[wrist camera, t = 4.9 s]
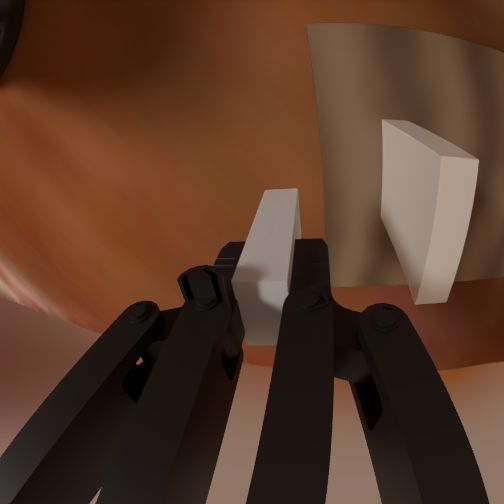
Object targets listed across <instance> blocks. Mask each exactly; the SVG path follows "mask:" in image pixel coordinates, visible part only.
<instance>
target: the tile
mask: <svg viewBox="0 0 504 504" xmlns="http://www.w3.org/2000/svg"><path fill="white" fill-rule="evenodd" d="M382 138H383V174H382V201H381V219H382V221H383V223H384V225H385V228H386V230H387V232H388V235H389V237H390V239H391V242H392V244H393V247H394V249H395V251H396V254H397V256H398V259H399V262H400V264H401V267H402V269H403V272H404V275H405V277H406V280H407V283H408V286H409V289H410V292H411V295H412V297H413V300H414V303H415V305H416V304H430V303H442V302H447V299H448V296H449V293H450V291H451V288H452V285H453V282H454V278H455V275H456V272H457V269H458V265H459V262H460V258H461V255H462V251H463V247H464V243H465V239H466V235H467V231H468V226H469V222H470V217H471V212H472V207H473V201H474V195H475V189H476V182H477V174H478V165H479V159H477V158H475V157H474V156H472V155H471V154H469V153H467V152H466V151H464V150H462V149H461V148H459V147H457V146H455V145H454V144H452V143H450V142H448V141H447V140H445V139H443V138H441V137H439V136H437V135H435V134H434V133H432V132H430V131H428V130H426V129H424V128H422V127H420V126H418V125H416V124H413V123H411V122H409V121H405V120H385V119H382Z"/></svg>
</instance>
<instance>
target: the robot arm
mask: <svg viewBox="0 0 504 504" xmlns="http://www.w3.org/2000/svg"><path fill="white" fill-rule="evenodd" d="M23 5H24V0H0V76H1V74H2V73H3V71H4V69H5V67H6V65H7V63H8V61H9V58H10V56H11V53H12V51H13V48H14V45H15V42H16V39H17V36H18V32H19V28H20V24H21V19H22V14H23ZM177 281H178V284H179V286H180V289H181V292H182V294H183V297H184V299H185V303H184V305H183V306H182V307H179V308H174V309H169V310H164V311H160V310H159V308H158V306H157V304H156V303H154V302H152V301H140V302H137V303H135V304H133V305H131V306H129V307H128V308H127V309H126V310H125V311H124V312H123V313H122V314H121V315H120V316H119V317H118V318H117V319H116V320H115V321H114V322H113V323H112V324H111V325H110V327H109V328H108V329H107V330H106V331H105V332H104V333H103V334H102V335H101V336H100V337H99V338H98V340H97V341H96V342H95V343H94V344H93V345H92V346H91V347H90V348H89V350H88V351H87V352H86V353H85V354H84V355H83V356H82V357H81V358H80V360H79V361H78V362H77V363H76V364H75V365H74V366H73V368H72V369H71V370H70V371H69V372H68V373H67V374H66V376H65V377H64V378H63V379H62V380H61V381H60V383H59V384H58V385H57V386H56V387H55V389H54V390H53V391H52V392H51V393H50V394H49V396H48V397H47V398H46V399H45V401H44V402H43V403H42V404H41V405H40V407H39V408H38V409H37V411H36V412H35V413H34V414H33V415H32V417H31V418H30V419H29V420H28V422H27V423H26V424H25V425H24V427H23V428H22V429H21V431H20V432H19V433H18V434H17V436H16V437H15V438H14V440H13V441H12V442H11V444H10V445H9V446H8V448H7V449H6V450H5V452H4V453H3V454H2V456H1V457H0V504H89V503H90V502H91V501H92V499H93V498H94V496H95V495H96V494H97V492H98V491H99V490H100V488H101V487H102V488H101V491H100V494H99V496H98V499H97V501H96V504H205V503H206V500H207V496H208V492H209V489H210V485H211V481H212V477H213V474H214V470H215V467H216V462H217V459H218V455H219V452H220V448H221V444H222V440H223V437H224V432H225V429H226V425H227V421H228V417H229V413H230V409H231V406H232V402H233V398H234V394H235V390H236V386H237V382H238V378H239V374H240V370H241V366H242V362H243V349H242V342H243V338H244V335H245V339H246V343H247V344H249V345H271V346H277V347H276V353H275V359H274V365H273V371H272V377H271V383H270V388H269V394H268V400H267V405H266V410H265V416H264V421H263V426H262V431H261V436H260V441H259V446H258V451H257V456H256V461H255V466H254V470H253V475H252V479H251V484H250V488H249V493H248V497H247V502H246V504H325V501H326V493H327V484H328V475H329V465H330V453H331V438H332V420H333V419H332V418H333V394H334V377H336V378H340V379H343V380H347V381H349V383H350V386H351V390H352V393H353V396H354V400H355V403H356V407H357V410H358V413H359V417H360V420H361V424H362V427H363V431H364V434H365V438H366V442H367V445H368V449H369V453H370V457H371V461H372V464H373V468H374V472H375V476H376V480H377V485H378V489H379V493H380V497H381V502H382V504H489V500H488V497H487V493H486V490H485V487H484V483H483V480H482V477H481V473H480V471H479V467H478V465H477V462H476V459H475V456H474V453H473V450H472V448H471V445H470V443H469V440H468V437H467V435H466V432H465V430H464V428H463V425H462V423H461V420H460V418H459V416H458V413H457V411H456V409H455V407H454V405H453V402H452V400H451V398H450V396H449V394H448V392H447V389H446V387H445V385H444V383H443V381H442V379H441V377H440V375H439V373H438V371H437V369H436V367H435V365H434V363H433V361H432V359H431V357H430V355H429V354H428V352H427V350H426V348H425V346H424V344H423V343H422V341H421V339H420V337H419V335H418V334H417V332H416V330H415V328H414V326H413V325H412V323H411V321H410V320H409V318H408V316H407V315H406V314H405V313H404V311H403V310H402V309H400V308H398V307H396V306H395V305H391V304H387V303H379V304H374V305H371V306H369V307H367V308H366V309H365V310H364V311H363V312H362V313H361V312H356V311H352V310H349V309H346V308H344V307H342V306H340V305H339V304H338V303H337V302H336V301H335V300H334V299H333V297H332V294H331V283H330V266H329V252H328V245H327V244H326V243H325V242H324V240H323V239H322V238H320V239H301V227H300V213H299V200H298V188H296V189H276V190H265V192H264V195H263V197H262V200H261V203H260V205H259V208H258V211H257V213H256V216H255V219H254V221H253V224H252V227H251V229H250V232H249V235H248V237H247V240H246V241H245V242H229V243H228V244H227V245H226V246H224V247H223V248H222V249H221V251H220V253H219V255H218V257H217V259H216V261H215V263H214V266H209V265H203V266H196V267H194V268H191V269H188V270H187V271H185V272H184V273H182V274H181V275H180V276H179V278H178V279H177ZM140 357H141V358H142V359H143V362H142V363H140V364H139V365H136V362H137V361H138V360H139V358H140Z"/></svg>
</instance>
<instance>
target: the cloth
mask: <svg viewBox="0 0 504 504" xmlns="http://www.w3.org/2000/svg"><path fill="white" fill-rule="evenodd" d="M306 30H307V36H308V42H309V48H310V54H311V61H312V68H313V75H314V83H315V91H316V99H317V108H318V118H319V129H320V140H321V153H322V167H323V184H324V206H325V243H326V244H327V245H328V252H329V266H330V283H331V287H358V286H386V285H407V284H408V283H407V280H406V277H405V275H404V272H403V269H402V267H401V264H400V262H399V259H398V256H397V254H396V251H395V249H394V247H393V244H392V242H391V239H390V237H389V235H388V232H387V230H386V228H385V225H384V223H383V221H382V219H381V201H382V174H383V138H382V119H385V120H405V121H409V122H411V123H413V124H416V125H418V126H420V127H422V128H424V129H426V130H428V131H430V132H432V133H434V134H435V135H437V136H439V137H441V138H443V139H445V140H447V141H448V142H450V143H452V144H454V145H455V146H457V147H459V148H461V149H462V150H464V151H466V152H467V153H469V154H471V155H472V156H474V157H475V158H477V159H479V165H478V174H477V182H476V189H475V195H474V201H473V207H472V212H471V217H470V222H469V226H468V231H467V235H466V239H465V243H464V247H463V251H462V255H461V258H460V262H459V265H458V269H457V272H456V275H455V278H454V282H457V281H471V280H483V279H495V278H504V53H503V52H501V51H498V50H495V49H492V48H489V47H486V46H483V45H480V44H477V43H474V42H470V41H467V40H463V39H459V38H455V37H451V36H447V35H443V34H438V33H433V32H428V31H422V30H416V29H410V28H403V27H395V26H385V25H373V24H354V23H318V24H306Z"/></svg>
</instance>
